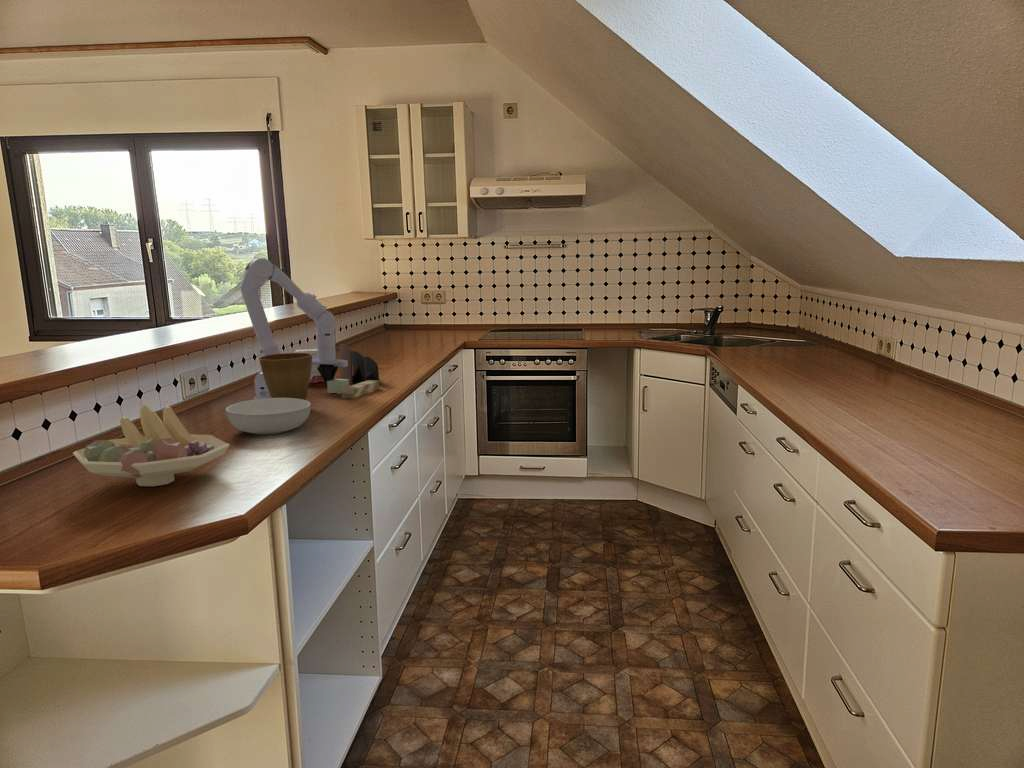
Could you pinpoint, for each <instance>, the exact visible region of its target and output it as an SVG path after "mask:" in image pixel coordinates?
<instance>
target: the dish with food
mask: <svg viewBox="0 0 1024 768" xmlns="http://www.w3.org/2000/svg"><path fill="white" fill-rule="evenodd" d="M139 412H140V413H139V414H140V415H139V416H140V423H141V428H142V431H143V433H144V435H142V434H141V432H140V431H139V429H138V427H137V426H136V425H135V423H133V422H132V421H131V419H129V417H127V416H126V417H125V416H122V417H121V418H120V420H119V423H120V426H121V431H122V433H123V435H124V437H123V438H115V439H113V438H112V439H108V440H106V439H98V440H94V441H93V442H91V443H89V444H87V445H86V446H85V447H84V448H80V449H78V450H75V451H74V452H72V454H73V455H74V456H75V457H76V459H77V460H78V461H79V463H80V464H81V465H83V467H84V468H85V469H86V470H87V471H88V472H89V473H92V474H95V475H96V474H97V475H100V476H104V477H111V478H112V477H115V478H118V477H119V478H136V484H137V485H138V486H140V487H156V486H163V485H168V484H170V483H173V482H174V481H175V474H180V473H185V472H186V473H187V472H190V471H192V470H194V469H196V468H199V467H201V466H203V465H204V464H206V463H209V462H211V461H213V460H215V459H216V458H219V457H220V456H221V457H222V455H225V454H226V452H227V451H228V448H230V446H231V444H229V443H227V442H225V441H224V440H221V439H219V438H217V437H215V436H214V435H212V434H194V433H193V434H191V433H189V432H188V430H187V429H186V427H185V426H184V425H183V423H182V422H181V420H180V418H178V416H177V414H176V413H175V412H174V410H173V408H172V407H171V406H168V405H166V406H165V407H164V408H163V410H162V419H163V420H162V419H161V418H160V417H159V415H158V413H156V412H155V411H153V410H151V409H150V407H149V406H147V405H146V404H143V405H142V407H140V411H139ZM172 481H173V482H172Z"/></svg>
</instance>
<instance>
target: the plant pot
mask: <svg viewBox="0 0 1024 768" xmlns="http://www.w3.org/2000/svg"><path fill="white" fill-rule="evenodd" d="M258 361H259V364H260V369H261V368H262V372H263V376H264V379H265V382H266V385H267V388H268V390H269V393H270V395H271V398H297V399H303V400H307V396H308V391H309V388H310V387H309V386H310V383H309V382H310V376H311V367H312V354H310V353H294V352H289V353H288V352H287V353H285V352H284V353H282V354H273V355H267V356H262V357H260V356H259V358H258Z"/></svg>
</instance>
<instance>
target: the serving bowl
mask: <svg viewBox="0 0 1024 768" xmlns="http://www.w3.org/2000/svg"><path fill="white" fill-rule="evenodd" d="M311 406H312V403H311V402H310V401H308V400H307V399H306V400H303V399H297V398H265V399H250V400H244V401H240V402H236V403H233V404H230V405H229V406H227V407H226V408H225V413H226V416H227V420H228V421H229V422H230V424H231V425H232V426H233V427H234V428H235V429H237V430H239V431H241V432H244V433H249V434H255V435H259V434H260V435H259V436H267V435H269V434H272V435H277V434H278V433H279V434H282V432H283V433H285V431H286V432H288V431H290V430H294V429H296V428H298V427H299V426H301V425H303V424H304V423H305V422H306V420H308V417H309V416H310V412H311V410H312V407H311ZM269 436H270V435H269Z"/></svg>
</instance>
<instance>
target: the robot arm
mask: <svg viewBox="0 0 1024 768" xmlns="http://www.w3.org/2000/svg"><path fill="white" fill-rule="evenodd" d="M267 280H269V281H272V282H274V283H277V284H278V285H280V287H281V288H283V289H284V290H285V291H286V292H287V293H288V294H290V295H291V296H292V298H295V300H296V306H297V307H298V308H299V309H300V310H301V311H302V312H303V313H304V314H305V315H307V317H309V318H310V319H312V321H313V323H314V324H315V325H316V326H315V327H316V345H317V346H316V347H317V348H316V349H318V359H312V365H319V367H318V368H317V370H318V371H319V373H320V374H321V376H322V382H323V383H324V386H325V388H326V389H327V381H330V380H333V379H335V376H336V373H337V371H338V369H339V367H340V366H342V367H346V366H348V361H347V360H340V358H339V359H338V358H337V355H336V354H337V351H336V337H335V335H336V334H335V327H334V326H335V324H336V321H337V320H336V317H335V315H334V314H333V312H331V311H329V310H327V308H328V307H327V306H326V305H323V304H322V303H321V302H320V301H318V299H317V296H316V295H315V294H314V293H313V294H311V293H310V292H303V291H302V289H301V288H300V287H299V286H298V285H297V284H296V283H295V282H294V281H293V280H292V279H291V278H290V277H289V276H288V275H286V273H285V272H284V271H283V270H281V269H280V268H279V267H278V266H276V265H275V264H273V263H272V262H271V260H269V259H267V258H263V257H261V258H260V257H258V258H257V257H256V258H253V259H251V260H250V261H249V263H248V264H247V265H246V266H245V268H244V272H243V276H242V280H241V282H240V283H241V284H240V289H239V290H240V293H241V295H242V299H243V301H244V304H245V308H246V310H247V314H248V316H249V319H250V322H251V325H252V328H253V330H254V334H255V336H256V339H257V343H258V348H259V353H260V354H259V358H260V357H262V356H267V355H273V354H283V353H282V352H281V351H280V350H279V348H278V345H277V343H276V341H275V339H274V337H273V333H272V330H271V328H270V327H271V326H270V324H269V322H268V321H269V320H268V318H267V315H266V312H265V309H264V306H263V303H262V299H261V297H260V293H259V290H260V288H261V287H262V285H263V283H264V282H265V281H267ZM253 383H254V392H255V397H253V400H255V399H265V398H271V395H270V393H269V390H268V388H267V385H266V382H265V379H264V376H263V372H262V368H261V367H260V372H258V373H257V374H256V375H255V377H254V382H253Z"/></svg>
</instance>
